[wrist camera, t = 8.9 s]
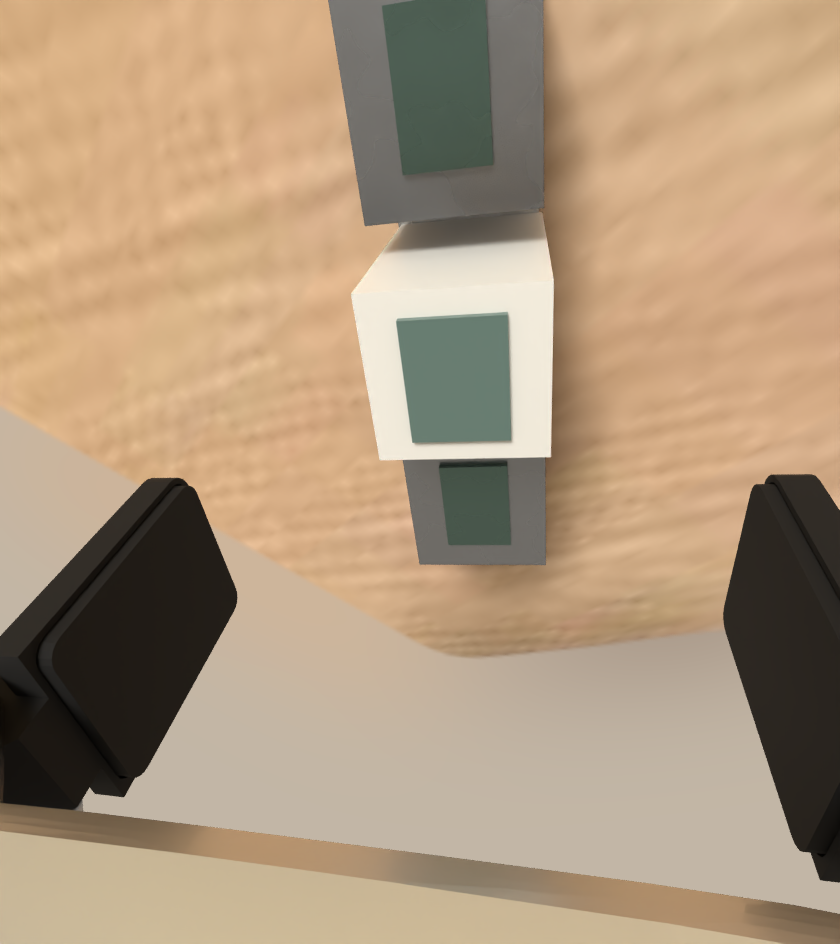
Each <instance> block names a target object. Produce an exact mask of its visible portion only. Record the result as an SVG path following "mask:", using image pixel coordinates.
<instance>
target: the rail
mask: <svg viewBox="0 0 840 944" xmlns="http://www.w3.org/2000/svg"><path fill="white" fill-rule="evenodd" d="M328 2H329V8H330V14H331V20H332V27H333V33H334V39H335V45H336V51H337V57H338V64H339V70H340V76H341V82H342V88H343V94H344V101H345V107H346V113H347V119H348V125H349V131H350V138H351V144H352V150H353V156H354V162H355V168H356V175H357V181H358V187H359V193H360V199H361V205H362V212H363V218H364V224H365V226H371V225H380V224H390V223H398V224H399V227H400V226H401V224H411V223H422V222H434V221H445V220H457V219H468V218H479V217H491V216H502V215H514V214H525V213H536V212H539V208H544V62H543V0H328ZM403 464H404V471H405V477H406V483H407V489H408V495H409V501H410V508H411V514H412V520H413V526H414V532H415V538H416V545H417V551H418V557H419V563H420V564H431V565H546V511H545V457H531V458H476V459H420V460H403Z"/></svg>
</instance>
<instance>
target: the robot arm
mask: <svg viewBox="0 0 840 944" xmlns="http://www.w3.org/2000/svg"><path fill="white" fill-rule="evenodd" d="M236 604H237V591H236V588H235V585H234V583H233V580H232V578H231V576H230V573H229V571H228V568H227V566H226V563H225V561H224V558H223V556H222V554H221V551H220V549H219V546H218V544H217V541H216V539H215V537H214V534H213V531H212V529H211V527H210V524H209V522H208V519H207V517H206V514H205V512H204V509H203V507H202V505H201V502H200V500H199V497H198V495H197V492H196V491H195V489H194V488H193V487H191V486H188V484H187V483H186V482H185V481H184V480H183V479H180V478H151V479H148V480H146V481H145V482H144V483H143V484H142V485H141V486H140V487H139V488H138V489H137V490H136V491H135V493H133V495H132V496H131V497H130V498H129V499H128V500H127V501H126V502H125V503H124V504H123V505H122V506H121V507H120V508H119V510H118V511H117V512H116V513H115V514H114V515H113V516H112V517H111V518H110V519H109V520H108V521H107V523H105V525H104V526H103V527H102V528H101V529H100V530H99V531H98V532H97V533H96V534H95V535H94V536H93V537H92V538H91V539H90V541H89V542H88V543H87V544H86V545H85V546H84V547H83V548H82V549H81V550H80V551H79V552H78V553H77V554H76V556H75V557H74V558H73V559H72V560H71V561H70V562H69V563H68V564H67V565H66V566H65V567H64V569H62V571H61V572H60V573H59V574H58V575H57V576H56V577H55V578H54V579H53V580H52V581H51V582H50V583H49V584H48V586H47V587H46V588H45V589H44V590H43V591H42V592H41V593H40V594H39V596H37V597H36V599H35V600H34V601H33V602H32V603H31V604H30V605H29V606H28V607H27V608H26V609H25V610H24V611H23V612H22V613H21V614H20V616H19V617H18V618H17V619H16V620H15V621H14V622H13V623H12V624H11V625H10V626H9V627H8V628H7V630H6V631H5V632H4V633H3V634H2V635H1V636H0V944H840V914H837V913H832V912H827V911H822V910H817V909H811V908H806V907H801V906H796V905H790V904H783V903H776V902H769V901H763V900H756V899H749V898H743V897H736V896H729V895H723V894H715V893H709V892H702V891H696V890H689V889H682V888H676V887H668V886H662V885H656V884H649V883H641V882H634V881H627V880H619V879H611V878H604V877H596V876H589V875H581V874H573V873H566V872H558V871H551V870H543V869H535V868H528V867H520V866H513V865H504V864H497V863H490V862H482V861H474V860H467V859H459V858H452V857H444V856H436V855H429V854H420V853H412V852H405V851H397V850H389V849H382V848H373V847H365V846H358V845H350V844H342V843H334V842H326V841H319V840H310V839H303V838H294V837H287V836H279V835H271V834H263V833H254V832H247V831H239V830H231V829H222V828H215V827H206V826H198V825H190V824H182V823H173V822H165V821H157V820H149V819H140V818H132V817H124V816H116V815H107V814H99V813H91V812H83V804H82V799H83V797H84V795H85V794H86V792H87V791H88V789H89V787H90V788H91V789H92V791H93V792H94V793H95V794H101V795H110V796H118V797H124V796H125V795H126V793H127V791H128V789H129V787H130V786H131V784H132V782H133V780H134V779H135V777H138V776H140V775H141V774H142V773H144V772H145V770H146V768H147V767H148V765H149V763H150V762H151V760H152V758H153V756H154V755H155V753H156V751H157V749H158V747H159V746H160V744H161V742H162V740H163V738H164V737H165V735H166V733H167V731H168V729H169V727H170V726H171V724H172V722H173V720H174V718H175V717H176V715H177V713H178V711H179V709H180V708H181V706H182V704H183V702H184V700H185V699H186V697H187V695H188V693H189V691H190V690H191V688H192V686H193V684H194V682H195V681H196V679H197V677H198V675H199V673H200V671H201V670H202V668H203V666H204V664H205V662H206V661H207V659H208V657H209V655H210V653H211V652H212V650H213V648H214V646H215V644H216V642H217V641H218V639H219V637H220V635H221V634H222V632H223V630H224V628H225V626H226V624H227V623H228V621H229V619H230V617H231V615H232V614H233V612H234V609H235V607H236ZM723 619H724V627H725V631H726V635H727V637H728V641H729V644H730V647H731V650H732V653H733V656H734V660H735V662H736V666H737V669H738V672H739V675H740V678H741V681H742V684H743V687H744V690H745V693H746V697H747V700H748V702H749V706H750V709H751V712H752V715H753V718H754V721H755V724H756V727H757V731H758V734H759V736H760V740H761V743H762V746H763V749H764V752H765V755H766V758H767V761H768V764H769V767H770V771H771V774H772V777H773V780H774V783H775V786H776V789H777V792H778V795H779V798H780V802H781V804H782V808H783V811H784V814H785V817H786V820H787V823H788V826H789V829H790V833H791V835H792V838H793V840H794V843H795V845H796V846H797V848H798V849H799V850H800V851H802V852H810V853H811V855H812V858H813V861H814V863H815V867H816V870H817V873H818V875H819V878H820V880H823V881H831V882H840V510H839V509H838V507H837V506H836V504H835V503H834V501H833V500H832V498H831V497H830V495H829V494H828V492H827V491H826V489H825V488H824V486H823V485H822V483H821V482H820V480H819V479H818V478H817V477H816V476H815V475H812V474H805V475H770V476H768V478H767V479H766V481H765V484H756V485H754V486H753V488H752V491H751V494H750V498H749V502H748V507H747V511H746V515H745V520H744V524H743V528H742V532H741V537H740V541H739V545H738V550H737V554H736V558H735V562H734V567H733V571H732V575H731V580H730V584H729V588H728V592H727V597H726V601H725V605H724V612H723Z"/></svg>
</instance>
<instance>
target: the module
mask: <svg viewBox="0 0 840 944" xmlns="http://www.w3.org/2000/svg"><path fill="white" fill-rule="evenodd" d="M351 297H352V303H353V309H354V315H355V320H356V326H357V332H358V338H359V343H360V349H361V355H362V361H363V366H364V372H365V378H366V384H367V389H368V395H369V401H370V407H371V412H372V418H373V424H374V430H375V435H376V441H377V447H378V453H379V459H380V460H420V459H476V458H531V457H551V421H552V360H553V299H554V279H553V273H552V267H551V261H550V255H549V249H548V243H547V237H546V231H545V225H544V219H543V213H542V212H536V213H525V214H514V215H502V216H491V217H479V218H468V219H457V220H445V221H434V222H422V223H411V224H401V226H400V227H399V229H398V230H397V231H396V233H395V234H394V236H393V237H392V238H391V240H390V241H389V242H388V244H387V245H386V247H385V248H384V249H383V251H382V252H381V253H380V255H379V256H378V258H377V259H376V260H375V262H374V263H373V264H372V266H371V267H370V269H369V270H368V271H367V273H366V274H365V276H364V277H363V278H362V280H361V281H360V282H359V284H358V285H357V287H356V288H355V289H354V291H353V292H352V293H351Z"/></svg>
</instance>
